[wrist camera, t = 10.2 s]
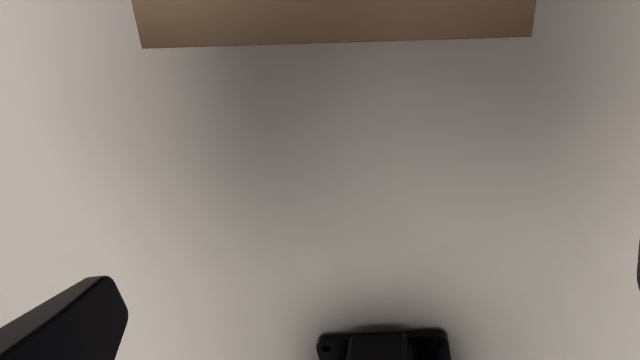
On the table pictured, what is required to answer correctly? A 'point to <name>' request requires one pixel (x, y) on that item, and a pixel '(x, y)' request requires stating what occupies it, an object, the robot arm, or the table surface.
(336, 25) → the walnut block
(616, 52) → the table surface
